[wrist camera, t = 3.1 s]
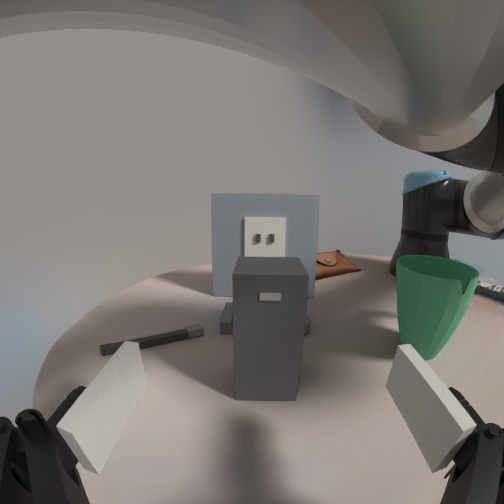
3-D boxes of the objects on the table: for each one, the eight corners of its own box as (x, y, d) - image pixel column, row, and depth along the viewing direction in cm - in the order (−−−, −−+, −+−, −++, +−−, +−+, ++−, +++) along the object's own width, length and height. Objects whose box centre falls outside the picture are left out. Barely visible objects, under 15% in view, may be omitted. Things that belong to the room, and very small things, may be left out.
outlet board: (311, 293, 45) (316, 195, 41) (330, 333, 31) (342, 197, 28) (215, 291, 45) (213, 193, 42) (197, 332, 32) (191, 194, 28)
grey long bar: (199, 330, 32) (198, 324, 32) (203, 335, 31) (202, 328, 31) (101, 350, 25) (99, 343, 25) (102, 356, 24) (100, 349, 24)
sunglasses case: (303, 284, 49) (293, 249, 51) (282, 292, 55) (274, 261, 57) (363, 270, 58) (354, 242, 59) (342, 278, 64) (334, 252, 65)
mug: (438, 384, 19) (469, 286, 17) (365, 349, 27) (380, 262, 25) (472, 332, 27) (489, 261, 25) (418, 313, 35) (429, 247, 33)
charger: (289, 361, 26) (297, 254, 24) (296, 401, 20) (309, 275, 18) (240, 360, 26) (239, 253, 24) (235, 400, 20) (232, 274, 18)
